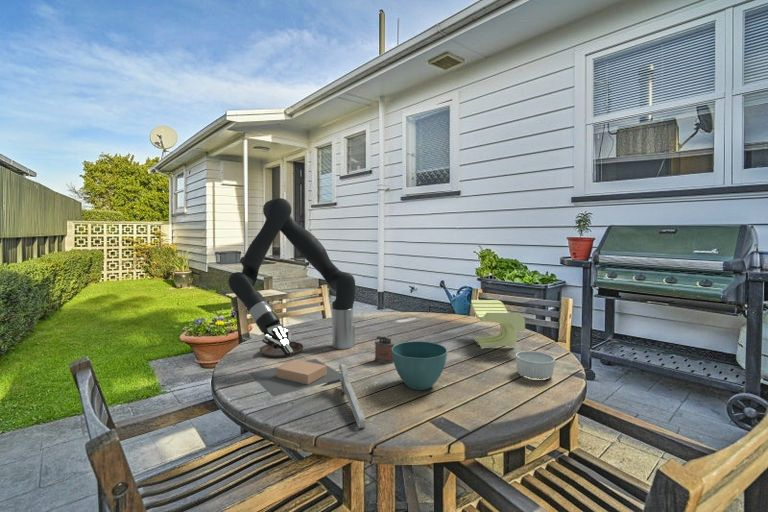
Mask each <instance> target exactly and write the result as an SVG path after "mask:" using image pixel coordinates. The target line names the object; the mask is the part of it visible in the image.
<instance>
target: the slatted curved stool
mask: <svg viewBox="0 0 768 512" xmlns="http://www.w3.org/2000/svg"><path fill="white" fill-rule="evenodd" d="M470 305H471V307H472V310H473V313H474V315H475V317H477V319H479V321H480V322H487V323H497V324H499V326H500V330H499V332H498V334H495V335H491V336H475V337H474V341H475V340H476V341H477V342H478V344H479V345H480V346H481V347H487V346H512V345H515V346H516V345H517V342H518V333H519V332H525V331H526V319H525V317H524V315H523V314H521V313H519V312H509V311H508V310H507V307H506V306H505V304H504V303H503V302H502V301H500V300H497V299H471V304H470ZM478 344H477V345H478Z"/></svg>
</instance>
